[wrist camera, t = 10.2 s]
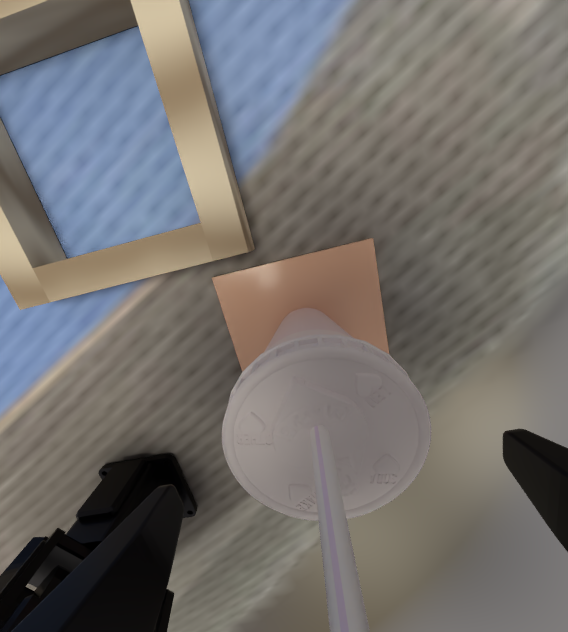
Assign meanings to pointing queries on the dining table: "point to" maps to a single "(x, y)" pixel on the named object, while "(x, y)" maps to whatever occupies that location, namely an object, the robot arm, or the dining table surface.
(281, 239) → the dining table surface
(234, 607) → the dining table surface
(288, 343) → the smoothie
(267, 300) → the coaster
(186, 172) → the holder
